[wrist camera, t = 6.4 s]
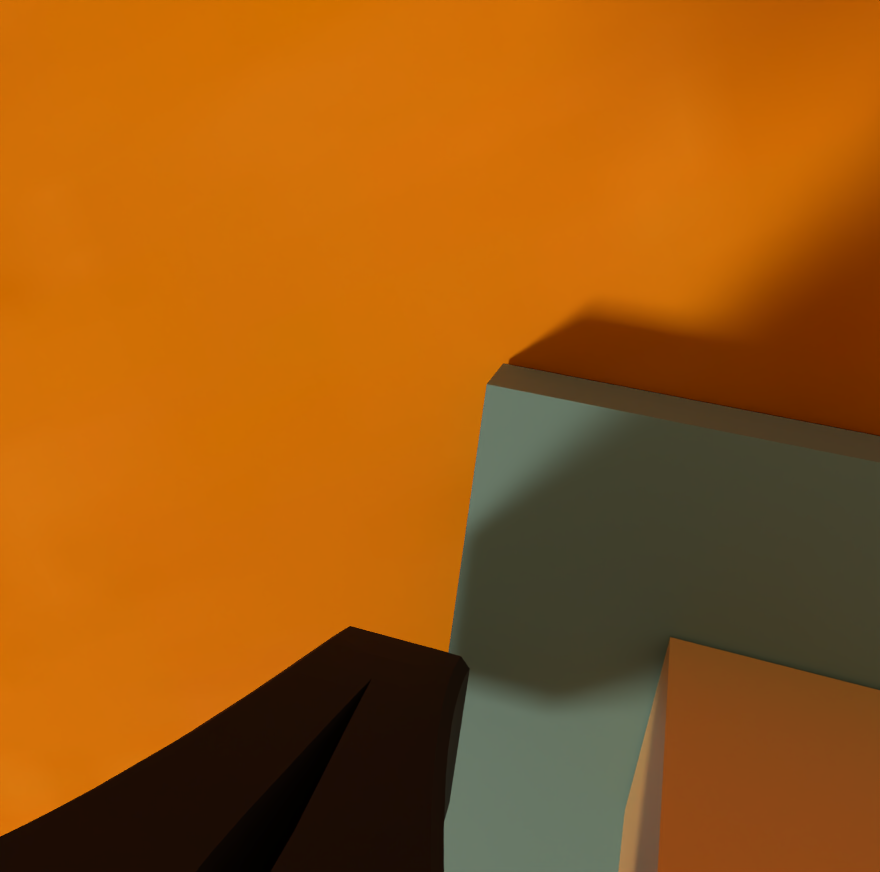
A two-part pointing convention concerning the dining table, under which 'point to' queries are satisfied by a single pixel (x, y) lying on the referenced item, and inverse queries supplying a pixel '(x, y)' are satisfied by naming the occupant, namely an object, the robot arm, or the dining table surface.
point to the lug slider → (754, 770)
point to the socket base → (635, 592)
